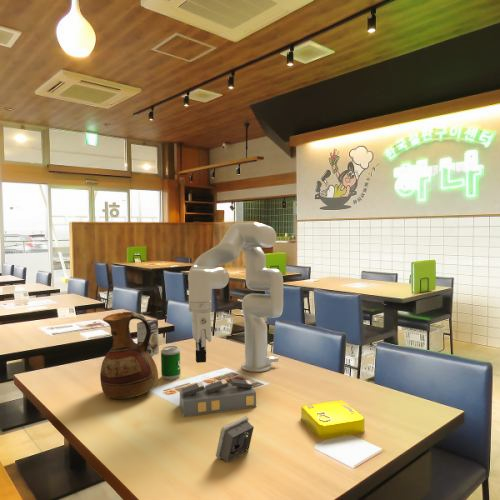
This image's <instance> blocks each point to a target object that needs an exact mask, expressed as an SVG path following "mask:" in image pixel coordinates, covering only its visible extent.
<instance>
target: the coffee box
mask: <svg viewBox="0 0 500 500" xmlns="http://www.w3.org/2000/svg"><path fill="white" fill-rule="evenodd" d="M146 320H147V322H148V324H149V326H150V339H149V344H148V349H147V350H148V352H149V354H150V355H151V356H152V357H153V356H155V355H157V354H159V353H160V351H159V320H158V319H146ZM136 334H137V335H136V338H137V339H136V340H137V341H136V342H137V344H142V343H143V342H144V339H145V336H146V327H145V324H144V323H143V322H142V321H139V322H136Z"/></svg>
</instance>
